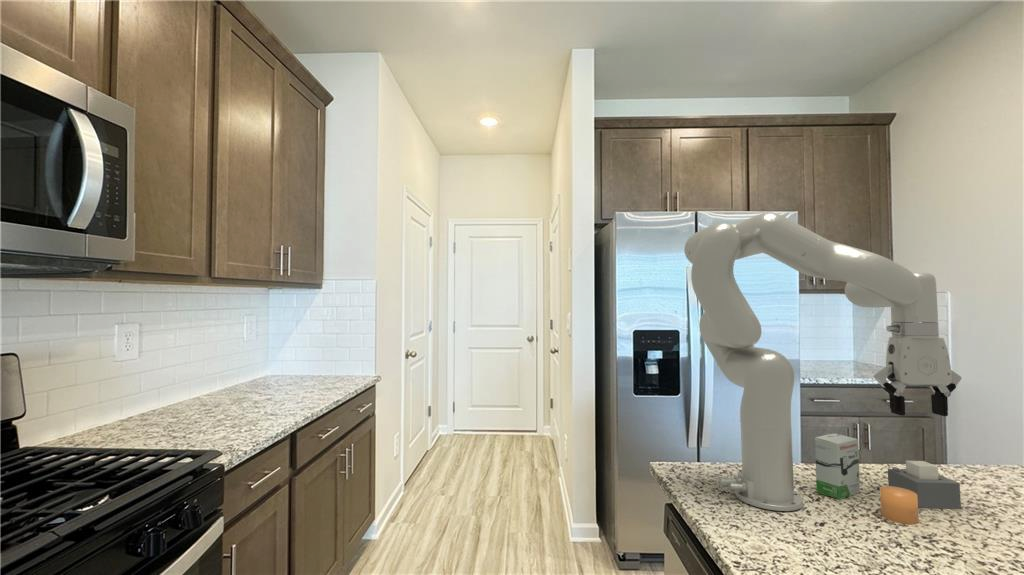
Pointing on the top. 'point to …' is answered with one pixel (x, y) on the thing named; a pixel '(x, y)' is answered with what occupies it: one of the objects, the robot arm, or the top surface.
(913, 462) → the button
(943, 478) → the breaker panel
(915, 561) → the top surface
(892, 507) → the cap
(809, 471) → the top surface
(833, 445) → the ink box
